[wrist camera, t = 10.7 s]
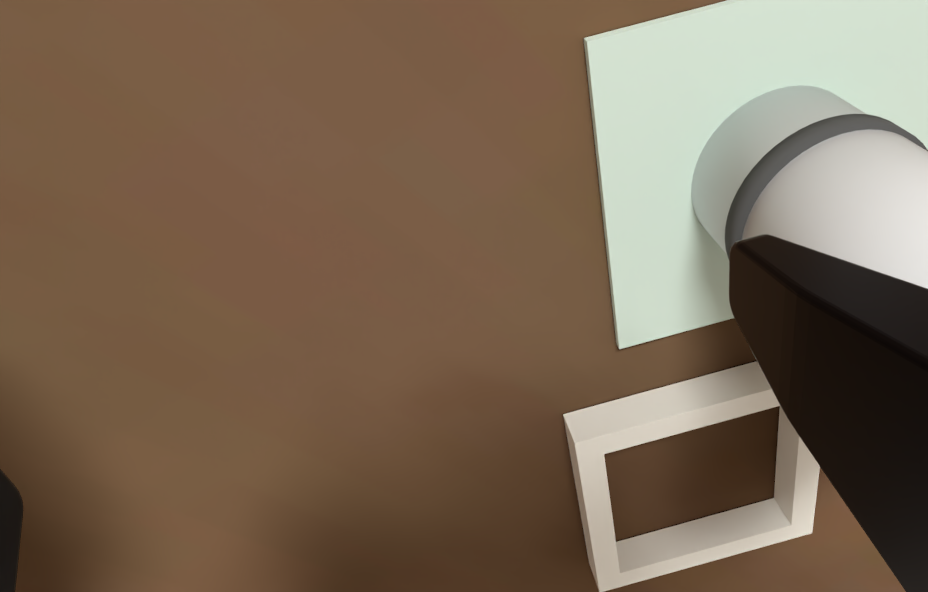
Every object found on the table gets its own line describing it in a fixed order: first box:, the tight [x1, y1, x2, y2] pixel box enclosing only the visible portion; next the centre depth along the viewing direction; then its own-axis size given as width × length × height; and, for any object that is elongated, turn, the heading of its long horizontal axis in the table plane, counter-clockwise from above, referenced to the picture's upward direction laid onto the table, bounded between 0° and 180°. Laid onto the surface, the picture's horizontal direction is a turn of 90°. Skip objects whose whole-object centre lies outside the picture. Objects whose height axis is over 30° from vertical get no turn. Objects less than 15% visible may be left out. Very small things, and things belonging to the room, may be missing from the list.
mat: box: [584, 0, 928, 349], centre depth 24 cm, size 11×11×1 cm
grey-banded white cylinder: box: [691, 85, 928, 289], centre depth 18 cm, size 6×6×13 cm
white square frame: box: [563, 361, 820, 592], centre depth 31 cm, size 10×10×2 cm
